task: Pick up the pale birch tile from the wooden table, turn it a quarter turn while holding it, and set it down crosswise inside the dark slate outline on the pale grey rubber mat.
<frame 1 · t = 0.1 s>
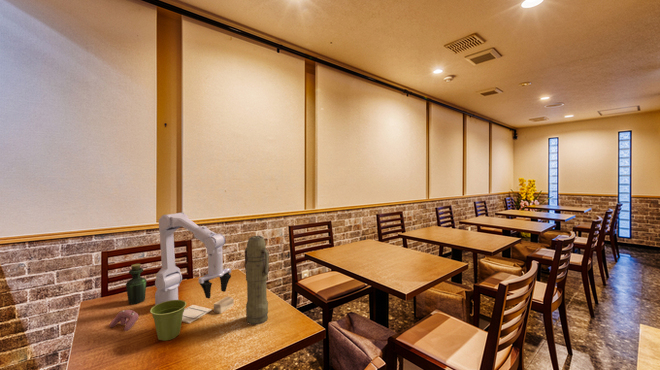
hand: (215, 294, 116), 10 cm above the table, tool pointing down, fingers open, 7 cm apart
thermos: (257, 319, 114), on the table
plant pot: (169, 336, 103), on the table
mat: (191, 313, 119), on the table
birch tile: (223, 309, 124), on the table
potion bottle: (136, 302, 132), on the table
video game controller: (124, 326, 110), on the table
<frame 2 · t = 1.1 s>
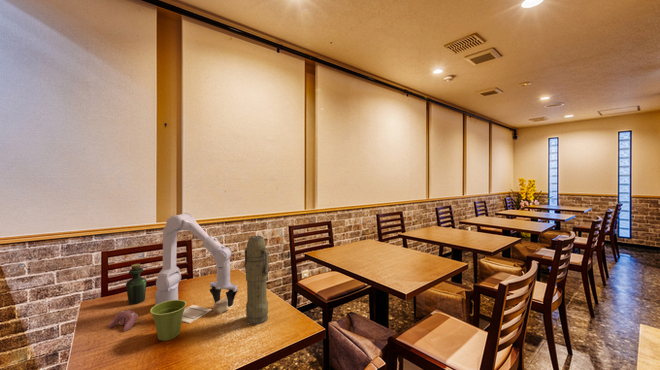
hand: (223, 304, 124), 2 cm above the table, tool pointing down, fingers open, 7 cm apart
nothing on the table moved.
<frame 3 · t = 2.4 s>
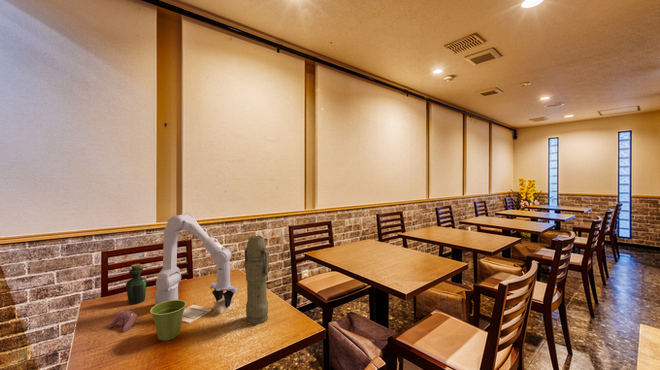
hand: (223, 305, 124), 1 cm above the table, tool pointing down, fingers closed on birch tile, 4 cm apart
birch tile: (223, 308, 124), on the table, touching gripper
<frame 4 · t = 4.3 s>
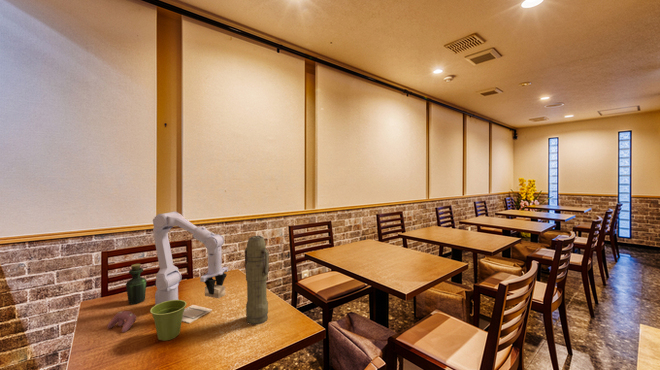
hand: (215, 292, 122), 8 cm above the table, tool pointing down, fingers closed on birch tile, 4 cm apart
birch tile: (215, 295, 122), point 7 cm above the table, touching gripper
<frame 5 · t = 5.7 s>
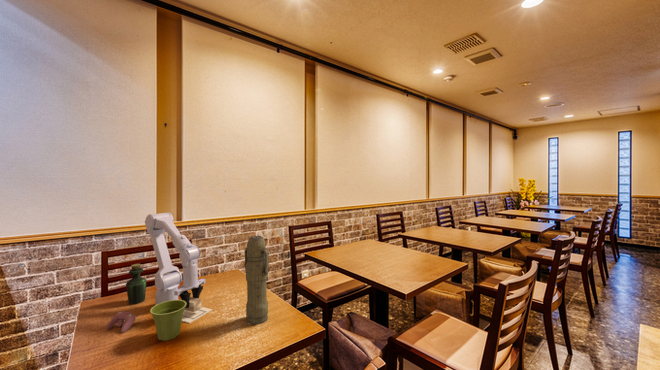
hand: (191, 305, 119), 4 cm above the table, tool pointing down, fingers closed on birch tile, 4 cm apart
birch tile: (191, 308, 119), point 2 cm above the table, touching gripper
when the fingers open (3 cm above the table, at t = 6.6 s): birch tile drops 1 cm, resting on mat.
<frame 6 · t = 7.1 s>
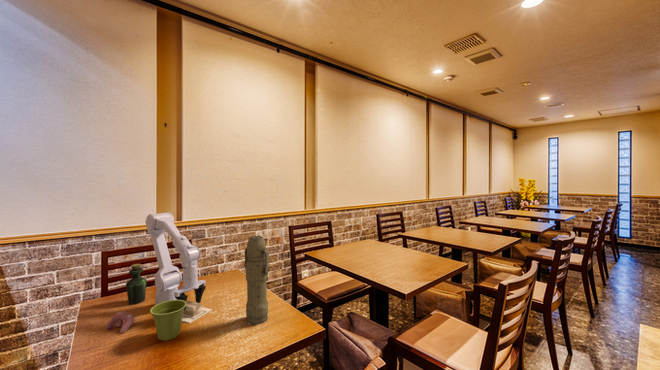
hand: (191, 306, 119), 3 cm above the table, tool pointing down, fingers open, 7 cm apart
birch tile: (191, 313, 119), resting on mat
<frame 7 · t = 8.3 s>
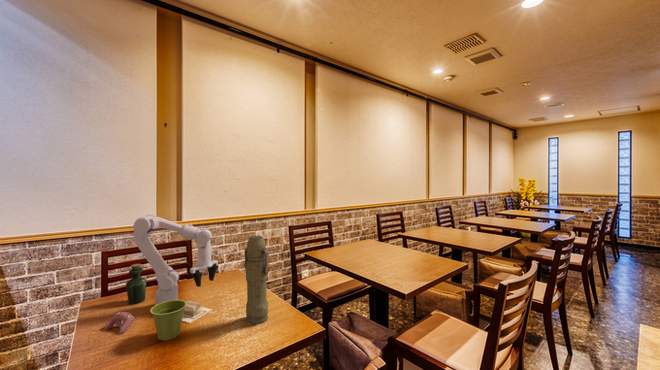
hand: (205, 283, 130), 9 cm above the table, tool pointing down, fingers open, 7 cm apart
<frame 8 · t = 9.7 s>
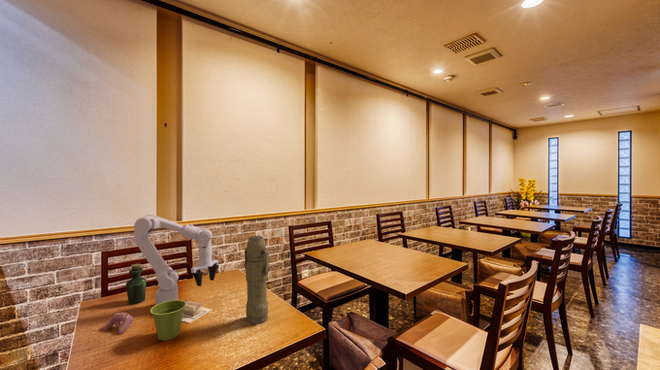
hand: (205, 282, 130), 9 cm above the table, tool pointing down, fingers open, 7 cm apart
at the end: birch tile 0.1 cm off-centre on the mat, point 0.4 cm above the mat's base; birch tile touching mat; the gripper is holding nothing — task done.
